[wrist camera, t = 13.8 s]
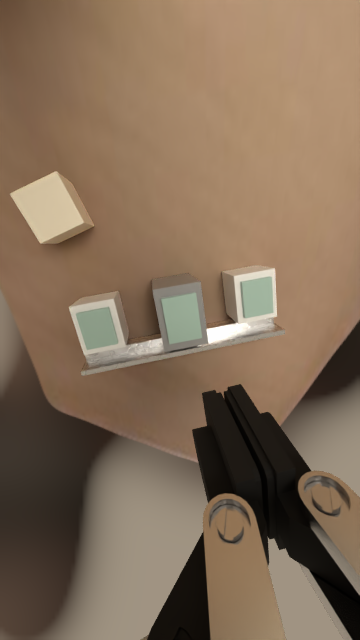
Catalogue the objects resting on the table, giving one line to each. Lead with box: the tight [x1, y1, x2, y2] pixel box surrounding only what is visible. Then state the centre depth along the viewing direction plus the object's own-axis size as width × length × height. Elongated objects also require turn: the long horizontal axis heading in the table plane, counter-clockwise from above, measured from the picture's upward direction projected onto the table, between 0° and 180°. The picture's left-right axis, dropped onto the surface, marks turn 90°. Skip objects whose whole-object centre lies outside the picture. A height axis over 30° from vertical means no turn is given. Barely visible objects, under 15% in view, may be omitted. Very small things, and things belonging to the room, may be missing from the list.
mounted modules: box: [69, 265, 277, 355], centre depth 31 cm, size 6×24×6 cm, turn 100°
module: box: [152, 273, 208, 352], centre depth 29 cm, size 7×5×8 cm
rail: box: [81, 317, 285, 376], centre depth 32 cm, size 2×26×5 cm, turn 100°
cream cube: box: [10, 171, 94, 244], centre depth 26 cm, size 5×5×5 cm
